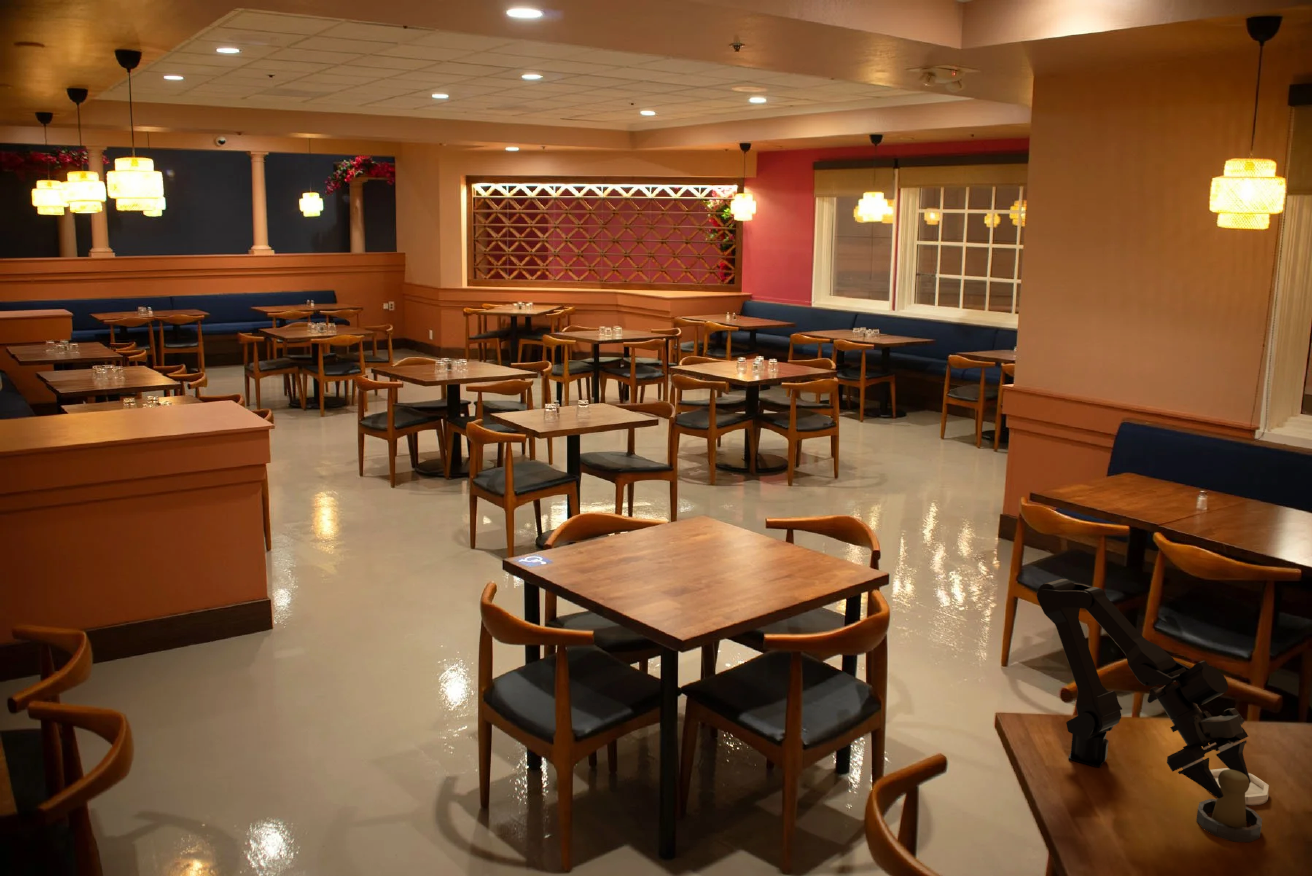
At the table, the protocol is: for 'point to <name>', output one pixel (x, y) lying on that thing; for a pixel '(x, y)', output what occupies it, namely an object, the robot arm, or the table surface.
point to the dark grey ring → (1225, 830)
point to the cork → (1231, 799)
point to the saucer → (1250, 789)
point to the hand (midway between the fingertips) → (1235, 790)
